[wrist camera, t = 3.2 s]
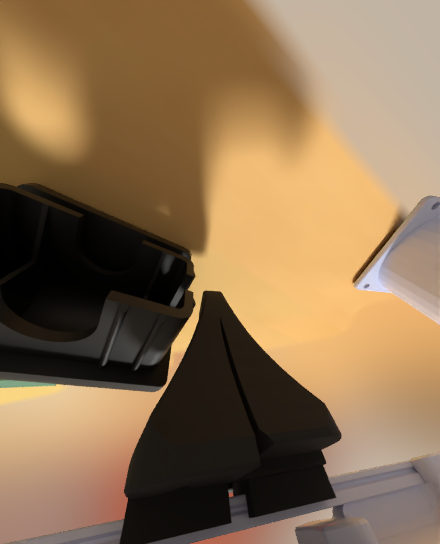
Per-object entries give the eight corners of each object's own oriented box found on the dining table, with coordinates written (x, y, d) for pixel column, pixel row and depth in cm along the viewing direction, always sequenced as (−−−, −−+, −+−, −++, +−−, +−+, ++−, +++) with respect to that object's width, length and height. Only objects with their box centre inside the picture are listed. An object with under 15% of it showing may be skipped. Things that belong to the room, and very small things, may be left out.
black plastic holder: (18, 279, 11) (-162, 400, 5) (13, 172, 8) (-409, 198, 2) (164, 317, 15) (146, 412, 9) (200, 254, 12) (204, 339, 6)
